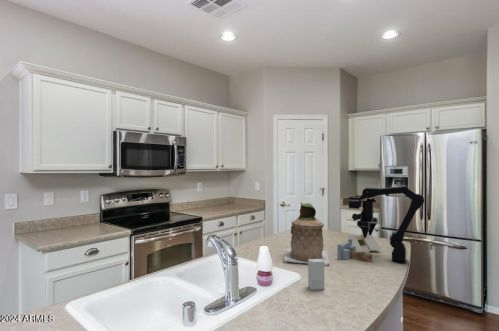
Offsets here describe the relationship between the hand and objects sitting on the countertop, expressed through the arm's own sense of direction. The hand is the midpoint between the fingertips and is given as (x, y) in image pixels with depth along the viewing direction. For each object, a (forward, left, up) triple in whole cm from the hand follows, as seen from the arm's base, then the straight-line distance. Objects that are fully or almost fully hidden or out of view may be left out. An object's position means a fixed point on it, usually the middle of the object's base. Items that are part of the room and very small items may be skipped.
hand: (367, 236), depth 173 cm
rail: (+2, +6, -12) cm, 14 cm away
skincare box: (+3, +59, -12) cm, 60 cm away
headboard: (+9, +6, -12) cm, 16 cm away
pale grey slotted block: (+7, -14, -12) cm, 20 cm away
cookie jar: (+26, +24, -12) cm, 38 cm away
